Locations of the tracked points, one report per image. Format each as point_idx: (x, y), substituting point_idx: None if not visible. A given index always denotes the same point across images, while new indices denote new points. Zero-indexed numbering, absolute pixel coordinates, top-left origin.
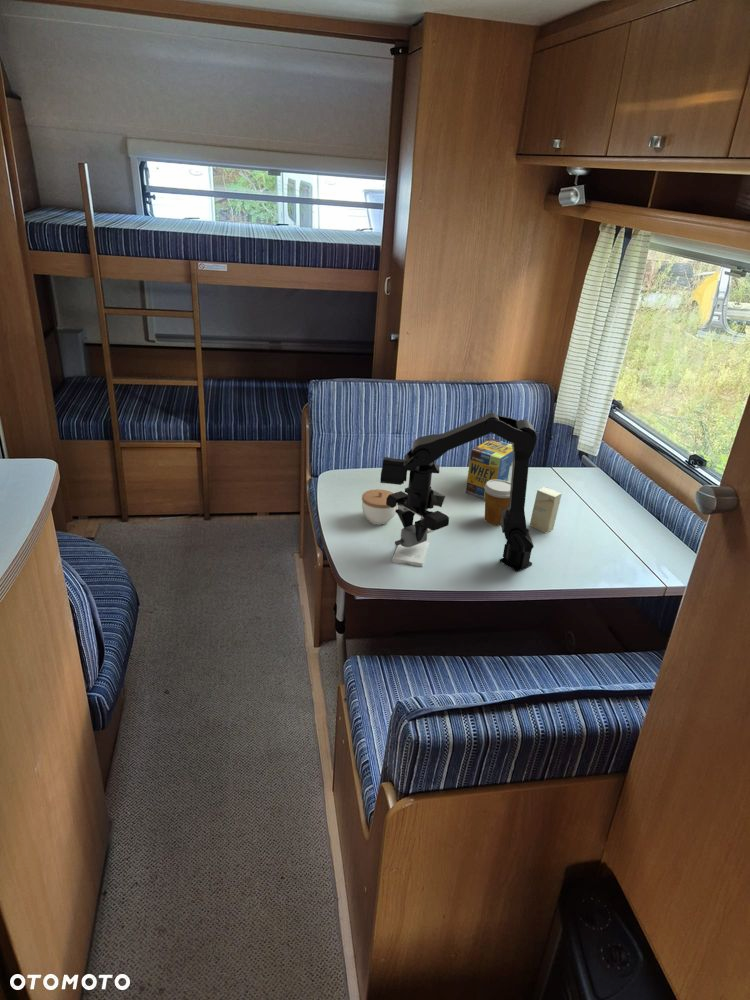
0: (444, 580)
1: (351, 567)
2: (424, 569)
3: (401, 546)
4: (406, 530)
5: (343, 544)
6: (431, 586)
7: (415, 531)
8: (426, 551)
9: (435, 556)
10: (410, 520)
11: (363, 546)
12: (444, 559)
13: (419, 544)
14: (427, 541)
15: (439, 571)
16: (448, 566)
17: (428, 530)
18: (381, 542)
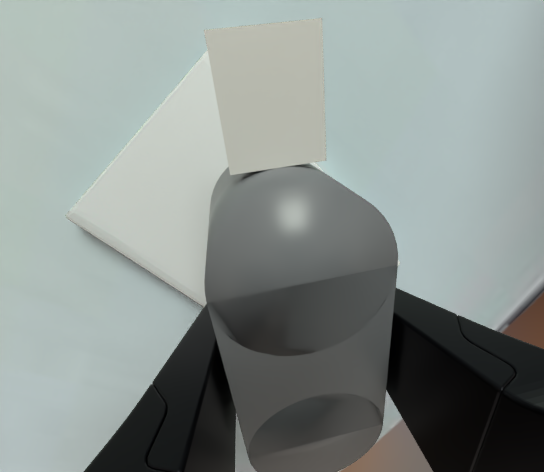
0: (528, 227)
1: (246, 466)
2: (414, 258)
3: (199, 280)
4: (303, 448)
5: (58, 462)
6: (508, 295)
7: (369, 393)
8: (316, 165)
9: (363, 122)
10: (209, 464)
11: (101, 405)
12: (422, 90)
13: (223, 159)
14: (207, 63)
15: (473, 203)
16: (482, 124)
17: (323, 153)
18: (80, 325)
